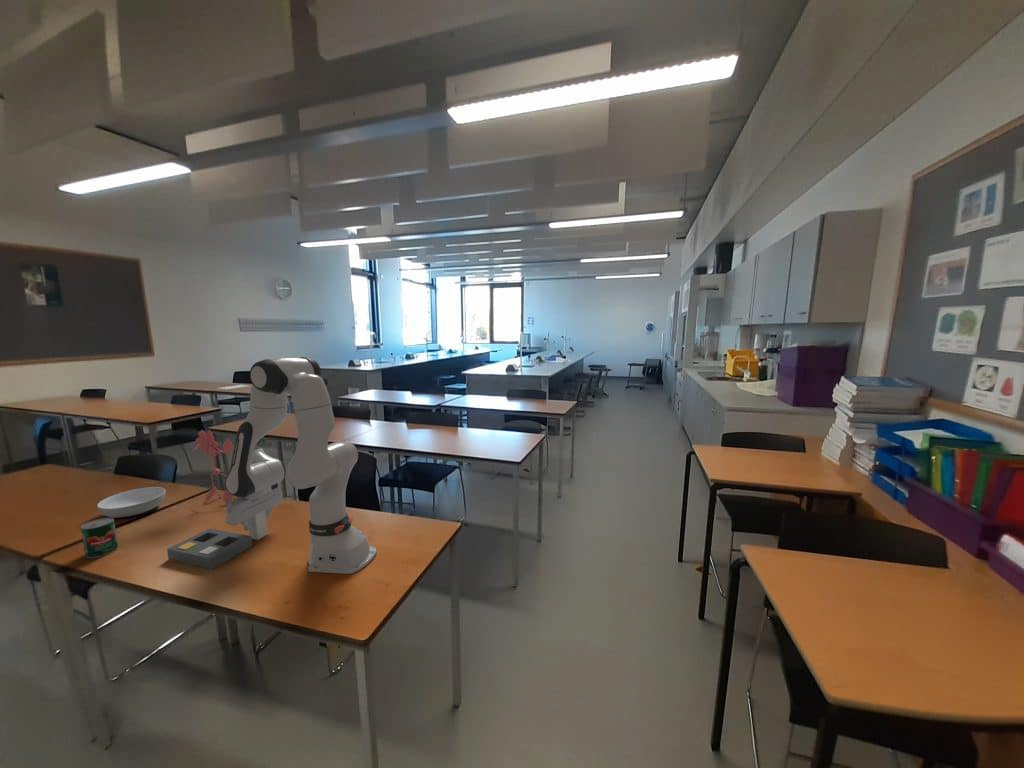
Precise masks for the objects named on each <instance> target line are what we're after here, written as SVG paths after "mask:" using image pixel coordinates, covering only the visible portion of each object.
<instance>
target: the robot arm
mask: <svg viewBox="0 0 1024 768" xmlns="http://www.w3.org/2000/svg"><path fill="white" fill-rule="evenodd" d="M321 370H322V369H321V367H320V364H319V362H317V361H316V359H313V358H310V357H305V356H304V357H303V356H300V357H288V356H287V357H286V356H284V357H277V358H276V357H275V358H270V359H269V358H267V359H266V358H265V359H262V360H258V361H257V362H255V363H254V364H252V366H251V368H250V370H249V379H250V382H251V384H252V386H251V390H250V398H249V410H248V413H247V416H246V418H245V420H244V421H243V423H241V425H239V427H238V430H237V433H236V437H235V441H234V447H233V452H232V457H231V463H230V467H229V471H228V473H227V476H226V478H225V483H224V484H225V488H226V490H227V491H228V492H229V493H230V494H231V495H233V496H234V498H235V499H233V498H232V499H231V500H230V502H229V503H228V504H226V516H225V519H226V524H227V525H229V526H238V525H240V524H241V525H242V526H243V529H244V531H247V532H249V530H250V529H251V525H250V524H248V519H250V518H252V517H254V516H255V514H257V513H259V512H261V511H263V510H265V514H266V522H267V521H268V520H270V515H271V513H272V509H273V507H276V506H277V505H279V504H281V503H282V501H283V493H282V489H281V488H280V486H281V482H283V480H284V479H285V477H286V479H287V481H288V483H289V484H290V485H291V487H293V488H295V489H297V490H304V489H309V488H312V487H315V488H314V490H313V491H312V493H310V496H309V499H308V506H309V508H308V509H309V510H308V511H309V521H308V529H309V533H310V543H309V544H310V545H309V554H308V558H307V563H308V567H307V568H308V569H307V571H308V572H309V573H326V574H345V575H350V574H351V575H352V574H354V573H356V572H358V571H361V569H363V568H364V567H366V566H367V565H368V564H369V563H371V561H372V560H373V559H374V558H375V557H376V555H377V552H378V551H377V548H376V547H375V546H371V545H370V543H369V540H368V537H367V536H366V535H365V534H364V533H363V531H361V530H359V529H357V528H356V527H355V526H353V525H352V522H353V521H354V517H351V518H350V517H349V514H348V513H347V511H346V509H347V506H346V505H347V504H346V491H347V485H348V481H349V478H350V475H351V472H352V471H353V468H354V466H355V465H356V464H357V461H358V459H359V452H358V450H357V448H356V446H355V444H353V443H352V442H350V441H347V440H346V441H344V440H343V441H336V442H332V443H329V439H330V436H331V434H332V433H333V432H334V430H335V429H336V428H335V427H336V422H335V415H334V412H333V406H332V401H331V397H330V394H329V390H328V389H327V385H326V383H325V380H324V379H323V378H322V376H321V375H322V371H321ZM288 395H289V396H290V397H291V400H292V406H293V412H294V416H295V423H296V427H297V428H296V429H297V442H296V443H297V444H296V448H295V451H294V453H293V456H292V458H291V460H289V462H288V464H287V466H286V464H285V462H283V461H282V460H281V459H279V458H277V457H272V456H271V455H269V454H267V453H266V452H265V451H264V448H263V447H258V446H257V447H256V444H257V443H258V442H259V441H260V440H261V439H262V438H263V437H265V436H266V435H267V434H269V433H271V432H273V431H274V430H276V429H278V428H279V427H280V426H281V425H282V424H284V422H285V420H286V418H287V416H288Z"/></svg>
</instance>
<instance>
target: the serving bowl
mask: <svg viewBox="0 0 1024 768" xmlns="http://www.w3.org/2000/svg"><path fill="white" fill-rule="evenodd" d="M166 493H167V491H166V488H164V487H159V486H151V487H150V486H149V487H142V488H135V489H131V490H126V491H123V492H119V493H116V494H114V495H110V496H108V497H106V498H104V499H102V500H100V501H99V502H98V503H97V505H96V506H97V509H98V511H99V512H100V514H102V515H103V516H106V517H107V518H126V517H132V516H133V515H134V516H137V514H138V515H140V514H144V513H147V512H149V511H151V510H153V509H155V508H157V507H158V506H160V505H161V504H162V503H163V501H164V500H165V498H166Z"/></svg>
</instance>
